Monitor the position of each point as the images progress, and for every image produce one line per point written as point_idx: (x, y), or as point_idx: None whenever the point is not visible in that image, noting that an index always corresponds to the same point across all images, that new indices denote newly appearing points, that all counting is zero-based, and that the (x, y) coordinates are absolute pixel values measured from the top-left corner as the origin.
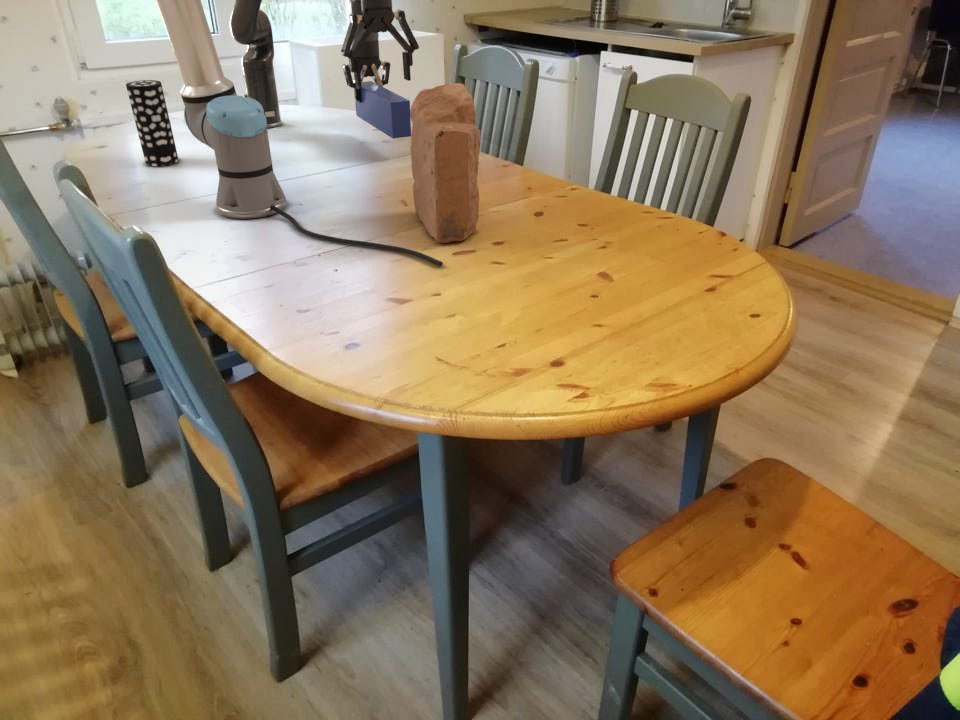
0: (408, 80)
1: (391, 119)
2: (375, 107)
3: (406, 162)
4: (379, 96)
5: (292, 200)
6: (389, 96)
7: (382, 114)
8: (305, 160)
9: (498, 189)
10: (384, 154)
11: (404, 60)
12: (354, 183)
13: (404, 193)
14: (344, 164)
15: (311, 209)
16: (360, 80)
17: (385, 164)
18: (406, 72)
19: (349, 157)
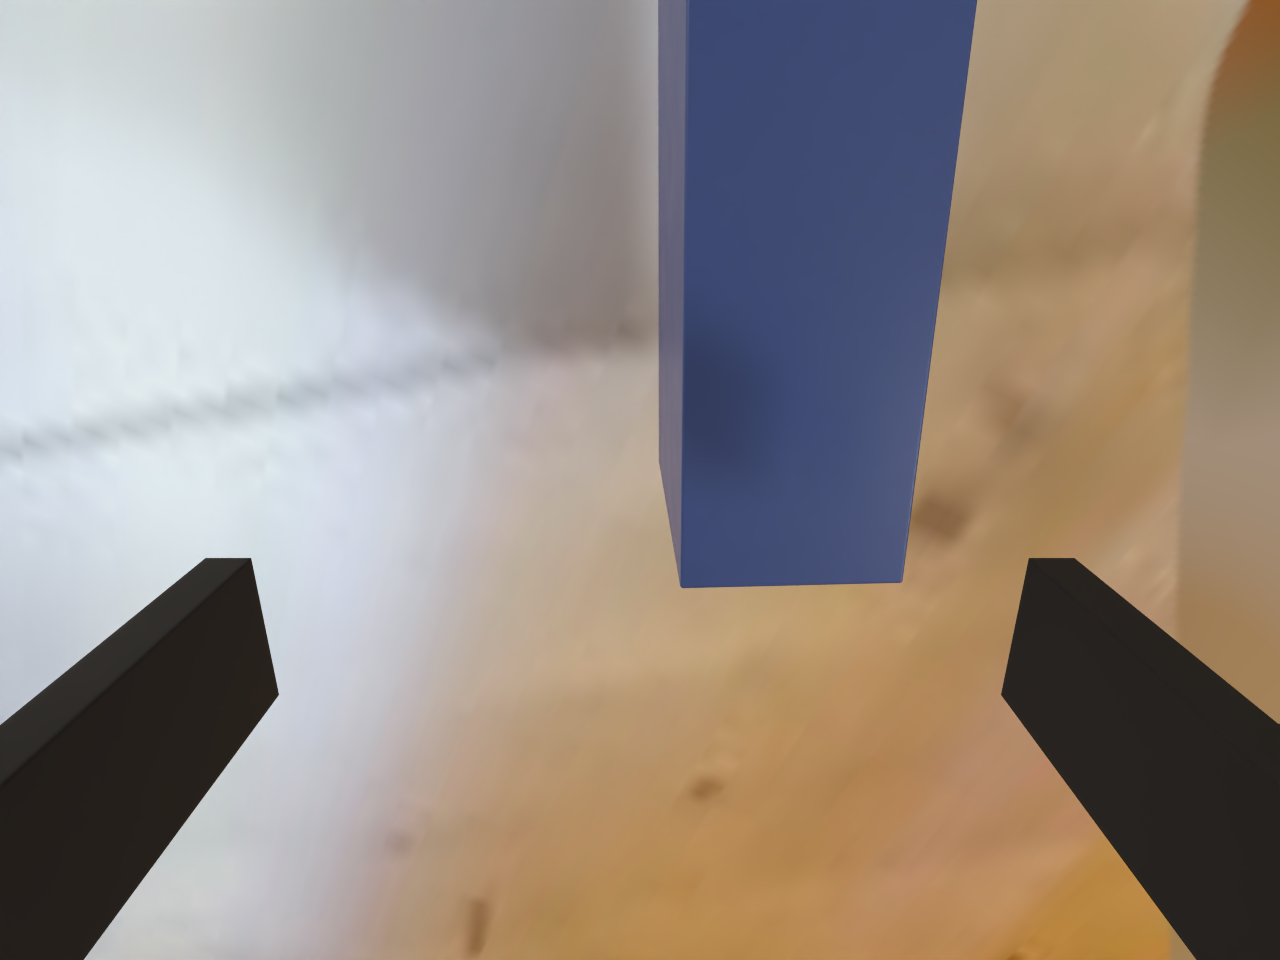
0: (1007, 697)
1: (668, 509)
2: (671, 74)
3: None
4: (684, 240)
5: None
6: (798, 300)
7: (668, 291)
8: (92, 91)
9: (895, 934)
10: None
11: (1215, 843)
12: (332, 650)
13: (517, 843)
14: (347, 313)
15: None
16: (231, 748)
17: (590, 425)
18: (1067, 731)
19: (415, 167)
